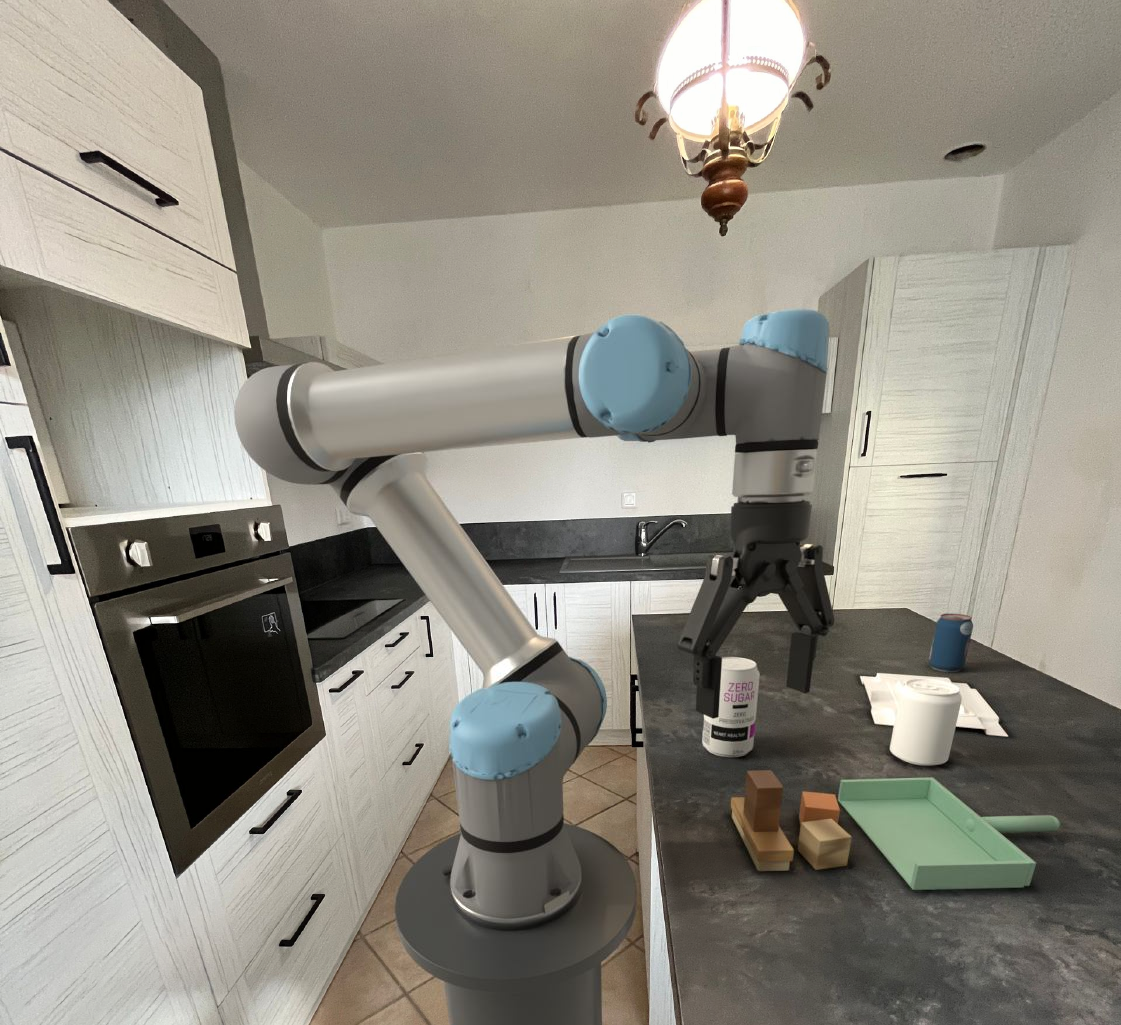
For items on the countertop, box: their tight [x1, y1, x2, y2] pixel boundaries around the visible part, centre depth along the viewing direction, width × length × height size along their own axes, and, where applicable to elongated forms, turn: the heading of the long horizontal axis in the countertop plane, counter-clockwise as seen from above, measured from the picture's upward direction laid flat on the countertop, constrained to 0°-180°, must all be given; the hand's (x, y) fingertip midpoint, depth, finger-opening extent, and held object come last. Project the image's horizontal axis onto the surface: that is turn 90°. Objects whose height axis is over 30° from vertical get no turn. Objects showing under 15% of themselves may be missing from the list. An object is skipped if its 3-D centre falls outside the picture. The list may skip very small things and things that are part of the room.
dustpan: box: [837, 777, 1061, 891], centre depth 73 cm, size 23×19×3 cm
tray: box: [859, 672, 1009, 737], centre depth 114 cm, size 20×28×4 cm
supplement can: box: [701, 656, 760, 758], centre depth 96 cm, size 8×8×15 cm
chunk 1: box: [798, 790, 841, 826], centre depth 76 cm, size 4×4×4 cm
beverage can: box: [889, 679, 962, 767], centre depth 91 cm, size 8×8×12 cm
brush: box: [730, 769, 795, 872], centre depth 72 cm, size 4×12×9 cm, turn 0°
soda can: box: [928, 613, 974, 673], centre depth 131 cm, size 7×7×12 cm
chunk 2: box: [797, 819, 853, 871], centre depth 70 cm, size 4×4×4 cm
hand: (754, 701), depth 65 cm, fingers open, 13 cm apart
